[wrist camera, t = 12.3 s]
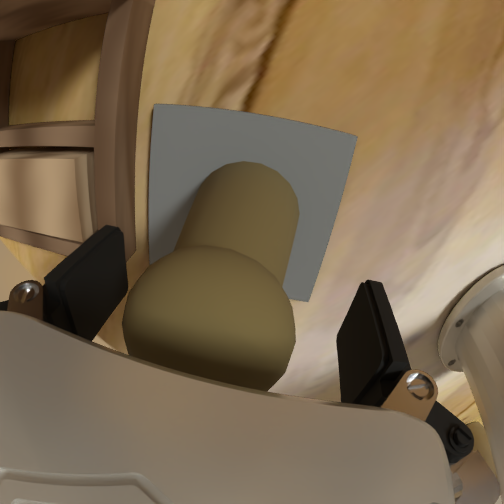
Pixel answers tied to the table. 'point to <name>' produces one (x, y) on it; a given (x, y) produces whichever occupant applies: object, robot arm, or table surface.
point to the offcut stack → (49, 191)
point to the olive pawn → (222, 284)
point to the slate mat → (251, 150)
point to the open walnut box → (106, 113)
